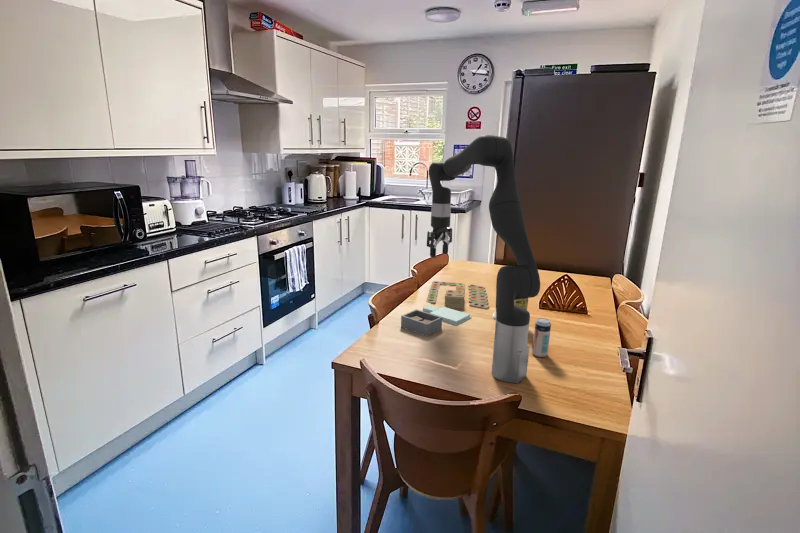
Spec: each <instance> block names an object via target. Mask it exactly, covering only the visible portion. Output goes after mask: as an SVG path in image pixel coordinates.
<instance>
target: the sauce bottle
mask: <svg viewBox="0 0 800 533" xmlns="http://www.w3.org/2000/svg"><path fill="white" fill-rule="evenodd" d="M528 304H529V298H518V299H514V305H515V306H519V307H522V308H524V309H526V310H527V311H528Z"/></svg>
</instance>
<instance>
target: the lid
mask: <svg viewBox="0 0 800 533" xmlns="http://www.w3.org/2000/svg"><path fill="white" fill-rule="evenodd" d="M422 311H423V312H427V313H430V314H433V315H436V316H439V317H442V322H444V323H447V324H450V325H454V326H456V327H457V326H459V325H460V324H463V323H464V322H466V321H468V320H471V319H472V316H471V314H469V313H467V312H463V311H459V310H456V309H453V308H451V307H445V306H442V307H436V306H433V305H426V306H424V307H422Z"/></svg>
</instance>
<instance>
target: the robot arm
mask: <svg viewBox="0 0 800 533" xmlns="http://www.w3.org/2000/svg"><path fill="white" fill-rule="evenodd" d="M472 165H480V166H485V167H492V168H494V169H495V172H496V178H497V179H496V181H497V182H496V185H495V188H494V190H493V193H491V197H490V199H489V203H488V211H489V216H490V222H491V226H492V228H493V230H494V232H495V233H496V234H497V235H498V237H499V238H500V239H501V240H502V241H503V242H504V243H505V244H506V246H507V247H508V248H509V250H510V251H511V253H512V254H513V257H514V259H515V262H516V264H517V265H515V264H514V265H505V266H501V267H500V268H499V269H498V272H497V274H496V282H495V284H496V285H495V286H496V288H495V289H496V290H495V310H496V319H495V327H494V337H493V338H494V340H493V349H492V350H493V351H492V364H491V374H492V376H493V377H494V378H495V379H497V380H499V381H502V382H506V383H515V384H519V383H520V382H521V381H522V380H523V379H525V377H527V372H528V364H529V353H530V345H528V338H529V329H530V320H531V314H530V312H529V311H528V309H527V310H526V309H524V308H522V307H519V306H515V305H514V299H518V298H528V299H531V298H535V297H537V296H539V295H538V294H540V291H541V279H540V278H541V277H540V273H539V268H538V265H537V263H536V260H535V258H534V257H535V256H534V254H533V250H532V248H531V245H530V240H529V236H528V232H527V228H526V223H525V218H524V212H523V207H522V204H521V199H520V195H519V190H518V185H517V180H516V173H515V163H514V155H513V147H512V144H511V142H510V139H508V138H507V137H505V136H504V137H503V136H499V135H493V134H482V135H479V136H478V137H476V138H475V139H474V140H473V141H472V142H470V143H469V144H468V145H467V146H466V147H465V148H464V149H463V150H462V151H460V152H458V153H457V154H455V155H453V156H450V157H448V158H447V159H446V160H445V161H434V162H432V163H431V164H430V165H429V167H428V177H429V181H430V186H431V191H432V199H431V200H432V201H431V202H432V203H431V209H430V210H431V212H430V214H431V215H430V227H431V228H432V231H430V230H429V231H427V235H426V247H428V248H429V256H430V258H436V257H437V246H438V244H439V243H440V242H441V243H442V249H441V250H442V253H441V254H444V255H447V254H449V245H450V243H453V228H452V227H451V216H452V214H451V213H452V208H451V199H452V196H451V195H452V191H451V188H449V187H445V186H442V183H441V182H450V181H453V180H455V179H456V178H457V177H459V176H460V175H463V174H465V173H467V172H469V171H470V169H471V167H472Z"/></svg>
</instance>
